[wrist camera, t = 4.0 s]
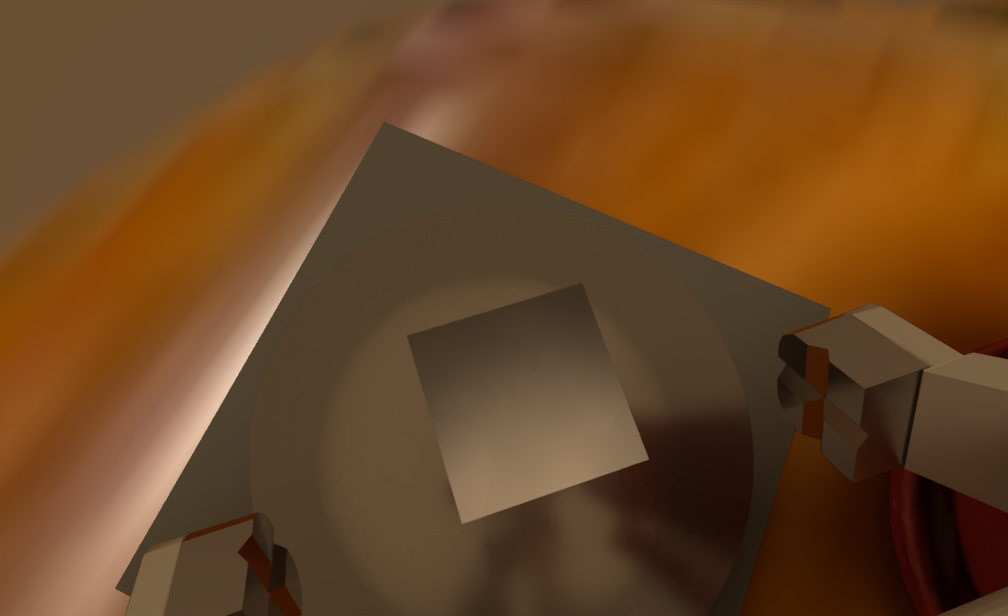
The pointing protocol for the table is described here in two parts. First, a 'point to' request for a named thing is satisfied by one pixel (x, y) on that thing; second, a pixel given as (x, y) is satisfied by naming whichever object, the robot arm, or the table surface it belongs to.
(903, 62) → the table surface
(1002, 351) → the plant pot
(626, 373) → the lid
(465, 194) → the mat
